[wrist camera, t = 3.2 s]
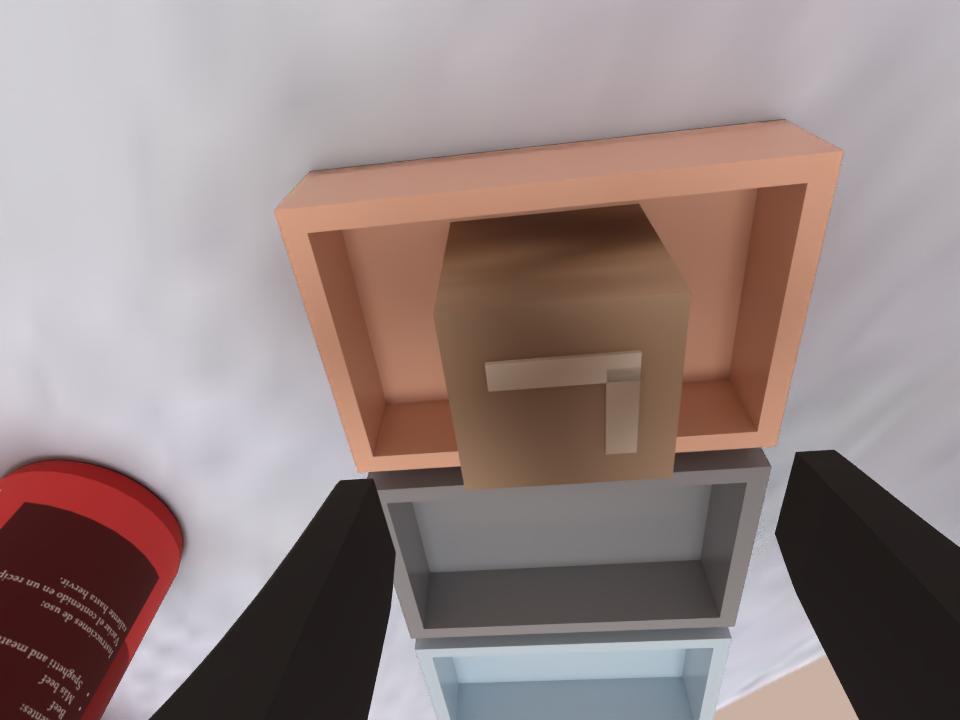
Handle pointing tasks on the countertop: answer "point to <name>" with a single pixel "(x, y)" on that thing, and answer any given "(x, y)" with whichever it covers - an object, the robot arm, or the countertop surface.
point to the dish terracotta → (552, 188)
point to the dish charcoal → (575, 549)
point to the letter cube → (562, 347)
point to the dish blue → (577, 675)
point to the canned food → (76, 585)
